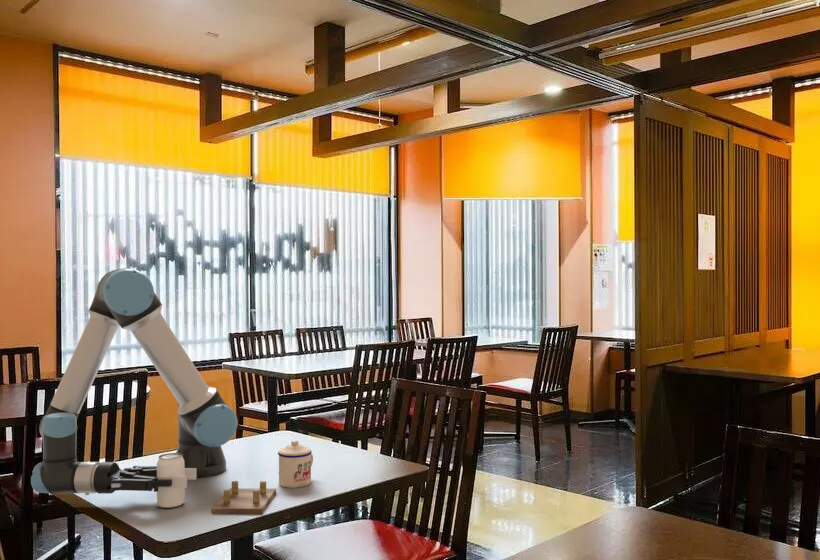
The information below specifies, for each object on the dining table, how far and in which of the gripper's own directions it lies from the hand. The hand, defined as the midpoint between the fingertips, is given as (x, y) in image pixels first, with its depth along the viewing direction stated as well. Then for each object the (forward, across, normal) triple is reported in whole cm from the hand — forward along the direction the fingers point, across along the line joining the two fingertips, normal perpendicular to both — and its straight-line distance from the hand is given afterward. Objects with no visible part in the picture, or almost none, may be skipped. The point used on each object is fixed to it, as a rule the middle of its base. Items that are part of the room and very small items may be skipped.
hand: (191, 477), depth 172 cm
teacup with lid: (+23, -20, -7) cm, 31 cm away
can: (-5, 0, -7) cm, 8 cm away
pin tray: (+13, -2, -7) cm, 15 cm away
